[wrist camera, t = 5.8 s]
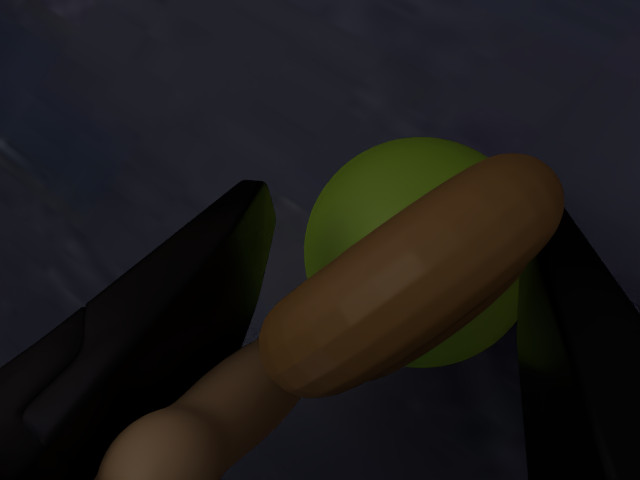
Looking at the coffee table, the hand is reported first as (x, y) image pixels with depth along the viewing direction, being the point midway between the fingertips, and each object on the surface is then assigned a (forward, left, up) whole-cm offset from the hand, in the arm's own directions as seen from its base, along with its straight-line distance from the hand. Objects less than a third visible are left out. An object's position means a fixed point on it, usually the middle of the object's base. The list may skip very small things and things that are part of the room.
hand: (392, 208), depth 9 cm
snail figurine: (-1, -1, -7) cm, 7 cm away
